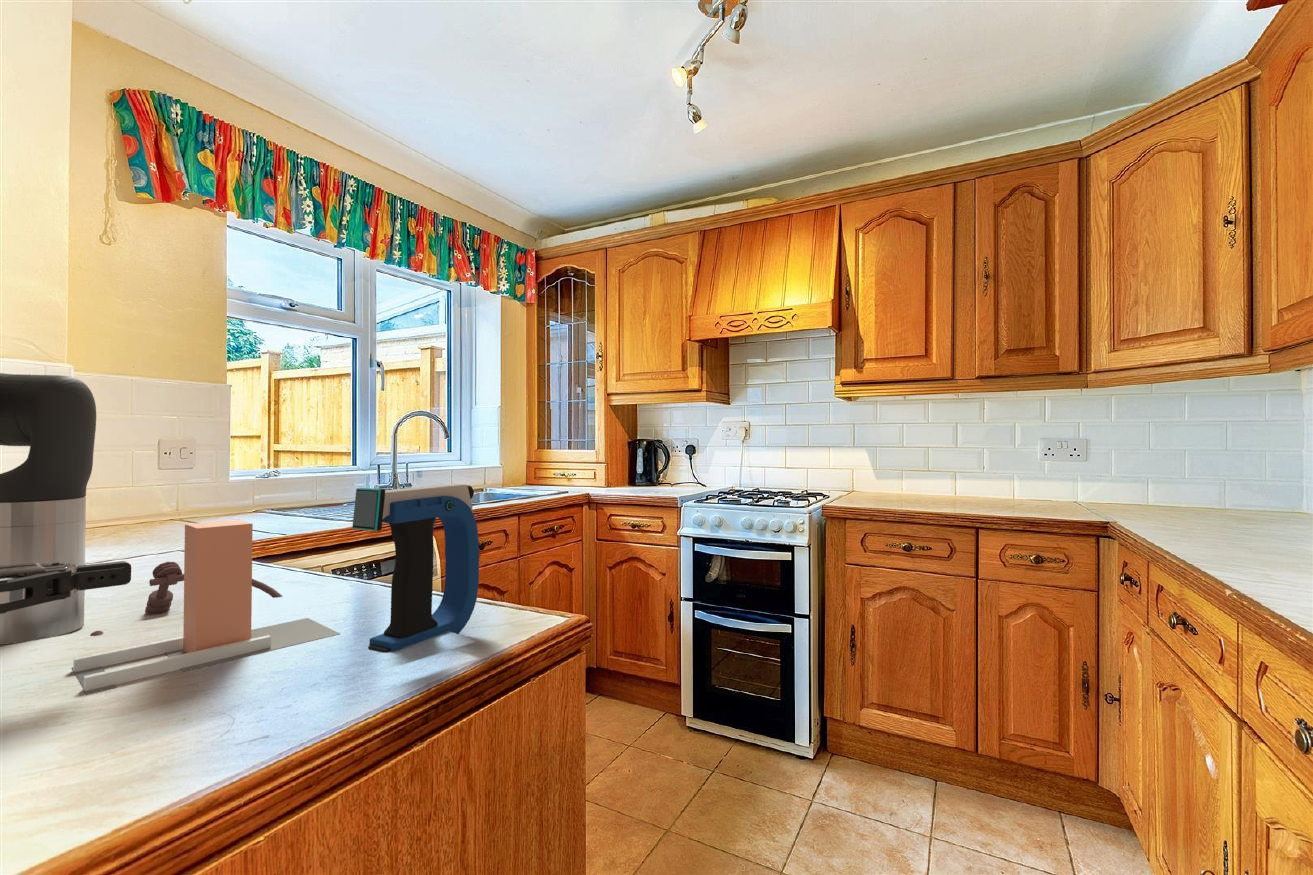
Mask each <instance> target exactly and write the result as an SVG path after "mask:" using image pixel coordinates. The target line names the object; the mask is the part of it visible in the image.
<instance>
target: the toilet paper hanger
mask: <svg viewBox="0 0 1313 875" xmlns="http://www.w3.org/2000/svg"><path fill="white" fill-rule="evenodd" d="M152 577H153V578H150V579H149V586H150V587H153V586H154V587H155V586H158V589H156V590H154V591H152V592H151V593H150V594H149V595H148V597H147V602H146V606H145V609H144V613H145V615H147V616H157V615H162V614H167V613H168V612H170V609H171V606H172V602H173V599H174V594H173V592H171V590H169V587H170V586H175V585H177V584H178V582H179V583H180V582H184V573H183V570H182V568H181V567H180V566H179V563H177V562H175V561H165V562H162V563H160V564H158V565H157V566H156V567H155V568H153V571H152ZM252 587H253V588H255V589H258V590H260V591H262V592H264V593H266V594H268V595H269V596H270V597H271V598H274V599H275V598H282V597H283V596H284V595H282V594H281V593H280V592H278V591H277V590H276V589H275V588H273V587H271V586H269V585H268V584H266V583H264V582H262V581H258V580H256V579H254V578H252ZM103 635H104V632H103V631H102V630H96V631H92V632H91V633H90V635H89V636H91V637H96V636H97V637H98V636H103Z"/></svg>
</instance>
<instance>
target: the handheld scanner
mask: <svg viewBox="0 0 1313 875" xmlns="http://www.w3.org/2000/svg"><path fill="white" fill-rule="evenodd" d="M474 493H475V491H474V488H473V486H472V485H470V484H469V485H468V484H463V483H461V484H460V483H450V484H437V485H427V486H426V485H424V486H417V487H407V488H406V487H405V488H395V489H385V488H368V487H367V488H365V487H358V488H356V489H355V496H354V497H355V498H354V507H353V515H352V516H353V517H352V529H353V530H361V531H362V530H363V531H371V532H372V531H373V532H379V531H382V530H383V529H382V527H383V524H388V525H389V527H390V533H391V536H392V539H393V543H394V549H395V552H394V553H395V560H394V569H393V573H392V576H391V577H392V578H391V588H390V589H391V591H390V592H391V593H390V623H389V625H388V626H387V627H386V629H384V632H383V633H381V634H378V635H376V636H373V637H372V636H371V637H370V638H369V642H368V643H369V645H368V646H367V648H368V650H369V651H373V652H379V653H388V652H393V653H394V652H397V651H400V650H403V649H405V648H407V647H410V646H413V645H415V644H419V643H422V642H423V641H426V640H427V641H428V640H429V639H431V638H434V637H436V636H440V635H442V634H445V633H447V632H451V633H454V634H456V635H459V634H460V633H461V632H462V631H463V629H464V628H465V627H466V625H467V623H468V622H469V621H470V619H471V618H472V615H473V612H474V610H475V606H476V603H477V600H478V599H477V598H478V592H479V584H480V581H479V580H480V546H479V545H480V541H479V531H478V525H477V520H476V517H475V514H474V511H473V510H474V509H473V503H472V501H471V500H472V498H474ZM437 518H438V519H439V520H440V522H441V524H442V528H443V532H444V550H445V551H444V552H445V553H444V557H445V558H444V559H445V560H444V561H445V562H444V564H445V565H444V566H445V567H444V573H445V575H444V588H443V594H442V598H441V601H440V603H439V605H438V606H437V608H436V610H435V611H432V610H433V607H432V606H433V581H434V580H433V579H434V527H435V522H436V521H437ZM432 612H433V613H432Z"/></svg>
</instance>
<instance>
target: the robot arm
mask: <svg viewBox="0 0 1313 875" xmlns="http://www.w3.org/2000/svg"><path fill="white" fill-rule="evenodd" d="M96 428H97V406H96V401H95V397H94V395H93V393H92V391H91V388H89V386H88V385H87V384H86V383H85V382H84V381H83V380H81V379H79V378H77V377H73V376H71V375H70V376H68V375H58V374H57V375H56V374H18V373H17V374H15V373H3V372H0V446H3V447H4V446H6V447H29V451H28V455H27V458H26V460H24V462H23V463H21V464H20V465H18V466H16V467H14V468H13V469H10V470H8V471H5V472H1V473H0V645H7V644H8V645H10V644H19V643H26V642H33V641H38V640H44V639H49V638H52V637H58V636H61V635H65V634H69V633H71V632H74V631H77V630H78V629H81V628H83V627H84V625H85V596H86V595H85V593H86V592H85V591H87V590H95V589H103V588H110V587H117V586H119V587H120V586H124V585H128V584H129V583H130V582H131V580H132V565H131V563H130V562H127V561H125V560H121V561H120V560H119V561H110V562H101V563H91V564H86V526H87V525H86V523H87V522H86V521H87V519H86V506H87V505H86V503H87V502H86V500H87V485H88V483H89V480H90V479H91V478H90V477H91V475H92V471H93V465H94V450H95V439H96Z"/></svg>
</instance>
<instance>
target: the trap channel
mask: <svg viewBox="0 0 1313 875" xmlns="http://www.w3.org/2000/svg"><path fill="white" fill-rule="evenodd" d="M338 635H341V632H338V631H336V630H334V629H331V628H329V627H327V625H323V624H322V623H320V622H317V621H315V620H313V619H311V618H309V617H306V618H305V617H304V618H302V619H301V618H300V619H296V620H290V621H287V622H282V623H277V624H272V625H267V626H263V627H258V628H252V629H251V639H249V640H244V641H240V642H235V643H231V644H226V645H222V646H217V647H213V648H208V649H204V650H199V651H195V652H190V653H186V652H185V651H183V635H182V636H177V637H173V638H168V639H163V640H158V641H152V642H147V643H143V644H139V645H133V646H128V647H121V648H118V649H113V650H112V649H111V650H107V651H102V652H98V653H93V654H88V655H84V656H83V655H82V656H79V657H73V659H72V660H73V666H72V667H71V669H72V671H73V673H74V674H75V677H76V678H77V680H78V682H79V683H80V685H81V687H82V689H83V691H84V693H85V694H86V696H88V695H93V694H97V693H101V692H105V691H110V690H115V689H117V686H116V685H120V684H123V683H127V682H128V683H129V682H131V681H136V680H140V679H145V678H149V677H153V676H157V675H161V674H165V673H171V672H175V671H179V670H181V671H182V672H188V671H193V670H196V669H200V668H201V669H202V668H205V667H210V666H213V665H217V664H221V663H222V664H223V663H226V662H231V661H234V660H238V659H242V658H247V657H250V656H255V655H258V654H259V655H261V654H264V653H268V652H270V651H271V652H272V651H275V650H276V651H277V650H279V649H284V648H288V647H293V646H297V645H300V644H306V643H309V642H313V641H317V640H322V639H326V638H330V637H333V636H338ZM163 654H164V655H166V656H167V657H164V658H160V659H154V660H150V661H145V662H141V663H137V664H132V665H126V666H123V667H119V668H114V669H113V668H112V669H109V670H105V669H104V667H107V666H113V665H115V664H121V663H126V662H130V661H135V660H139V659H140V660H141V659H144V658H148V657H149V658H150V657H154V656H158V655H163Z"/></svg>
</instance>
